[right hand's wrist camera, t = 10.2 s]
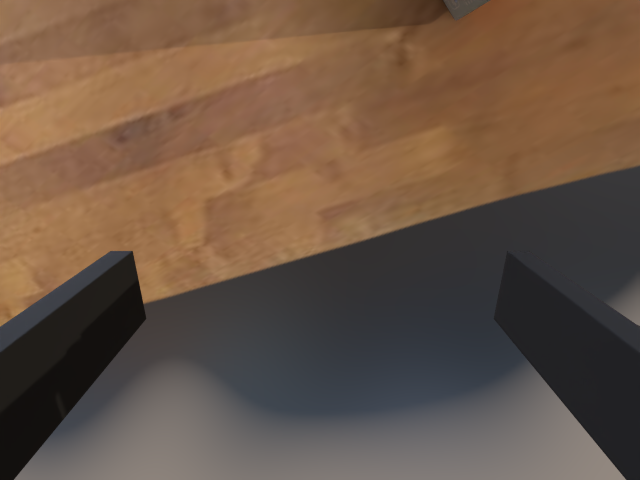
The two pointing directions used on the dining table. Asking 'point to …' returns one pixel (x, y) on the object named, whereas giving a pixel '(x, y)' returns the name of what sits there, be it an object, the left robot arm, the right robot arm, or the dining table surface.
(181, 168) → the dining table surface
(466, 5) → the hard drive box
